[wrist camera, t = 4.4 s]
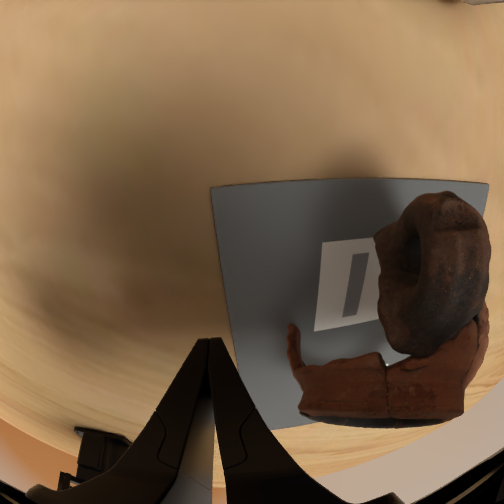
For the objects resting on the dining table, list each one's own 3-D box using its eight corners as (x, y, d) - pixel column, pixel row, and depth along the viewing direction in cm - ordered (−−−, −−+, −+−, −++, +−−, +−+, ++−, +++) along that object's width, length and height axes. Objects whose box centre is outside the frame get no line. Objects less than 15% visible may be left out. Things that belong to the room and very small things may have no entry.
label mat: (399, 396, 20) (400, 398, 20) (250, 430, 19) (251, 432, 19) (486, 183, 10) (489, 184, 10) (210, 187, 9) (210, 189, 9)
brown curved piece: (448, 302, 14) (447, 426, 9) (316, 301, 18) (290, 421, 13) (500, 133, 6) (599, 352, 1) (264, 138, 10) (166, 358, 5)
